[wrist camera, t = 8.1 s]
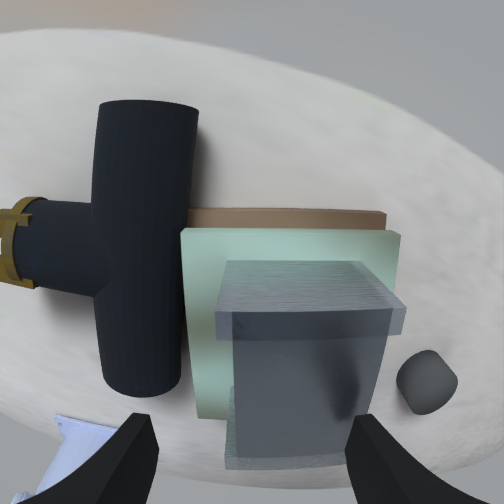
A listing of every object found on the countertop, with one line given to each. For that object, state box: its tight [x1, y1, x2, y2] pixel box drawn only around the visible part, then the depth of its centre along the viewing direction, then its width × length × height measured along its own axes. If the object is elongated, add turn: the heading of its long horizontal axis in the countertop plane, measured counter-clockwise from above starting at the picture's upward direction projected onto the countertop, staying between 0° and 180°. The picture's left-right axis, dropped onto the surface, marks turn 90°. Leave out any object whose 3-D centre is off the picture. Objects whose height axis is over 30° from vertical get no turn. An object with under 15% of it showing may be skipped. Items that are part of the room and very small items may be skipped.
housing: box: [215, 260, 407, 470], centre depth 13 cm, size 8×6×5 cm
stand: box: [181, 208, 401, 420], centre depth 17 cm, size 12×11×4 cm
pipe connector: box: [0, 100, 199, 398], centre depth 16 cm, size 12×5×15 cm
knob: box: [396, 350, 458, 415], centre depth 19 cm, size 4×4×3 cm
